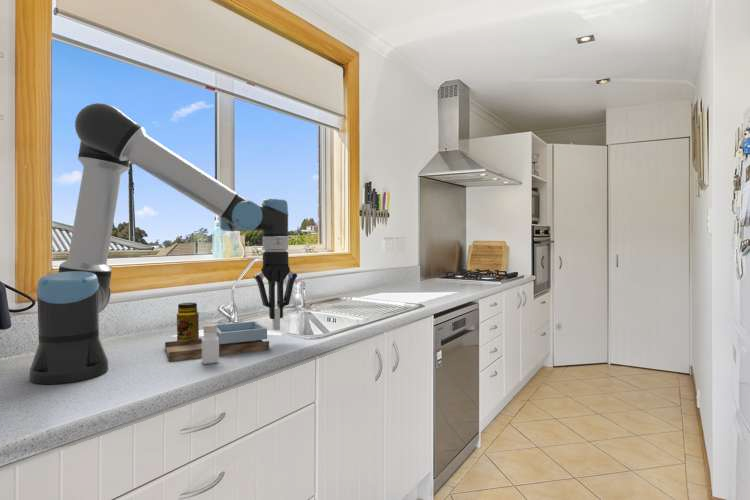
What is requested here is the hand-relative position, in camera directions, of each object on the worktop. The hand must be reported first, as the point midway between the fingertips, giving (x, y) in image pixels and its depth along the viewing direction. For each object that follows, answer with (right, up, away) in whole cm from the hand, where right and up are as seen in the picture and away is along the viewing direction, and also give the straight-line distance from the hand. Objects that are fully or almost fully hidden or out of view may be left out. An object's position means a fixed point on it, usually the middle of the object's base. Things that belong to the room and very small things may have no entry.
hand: (276, 329), depth 137 cm
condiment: (-27, -4, +1) cm, 27 cm away
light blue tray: (-10, -3, -5) cm, 11 cm away
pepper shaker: (-12, -5, -21) cm, 25 cm away
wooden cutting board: (-15, -4, -8) cm, 18 cm away
